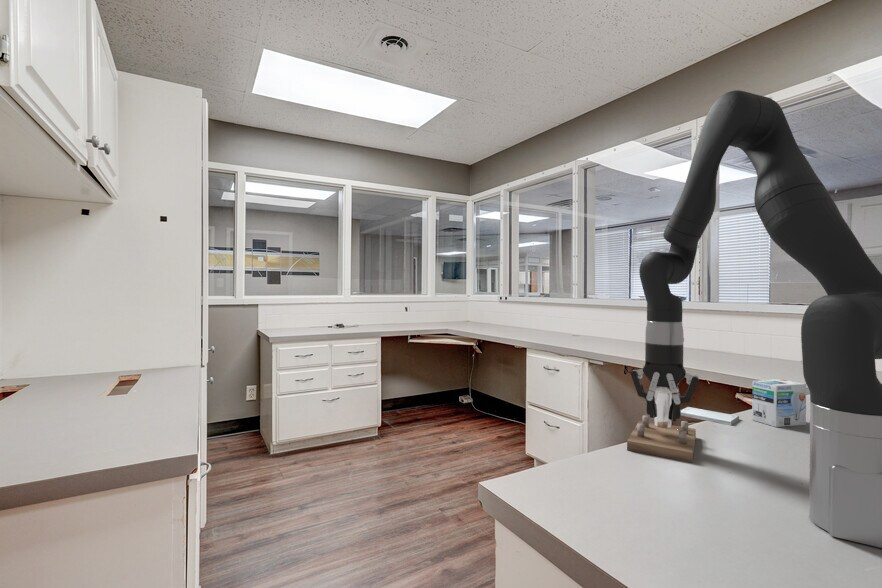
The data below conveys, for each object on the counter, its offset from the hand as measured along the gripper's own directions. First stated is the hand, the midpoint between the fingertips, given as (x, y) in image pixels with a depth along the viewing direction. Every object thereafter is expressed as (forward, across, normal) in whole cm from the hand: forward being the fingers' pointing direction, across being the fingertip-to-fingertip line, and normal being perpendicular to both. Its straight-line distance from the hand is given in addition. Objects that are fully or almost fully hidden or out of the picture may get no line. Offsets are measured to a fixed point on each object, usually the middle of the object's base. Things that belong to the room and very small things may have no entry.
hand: (663, 418), depth 94 cm
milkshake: (+2, 0, 0) cm, 2 cm away
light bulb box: (+6, +24, +36) cm, 44 cm away
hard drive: (+6, +8, +31) cm, 33 cm away
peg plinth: (+6, 0, 0) cm, 6 cm away
